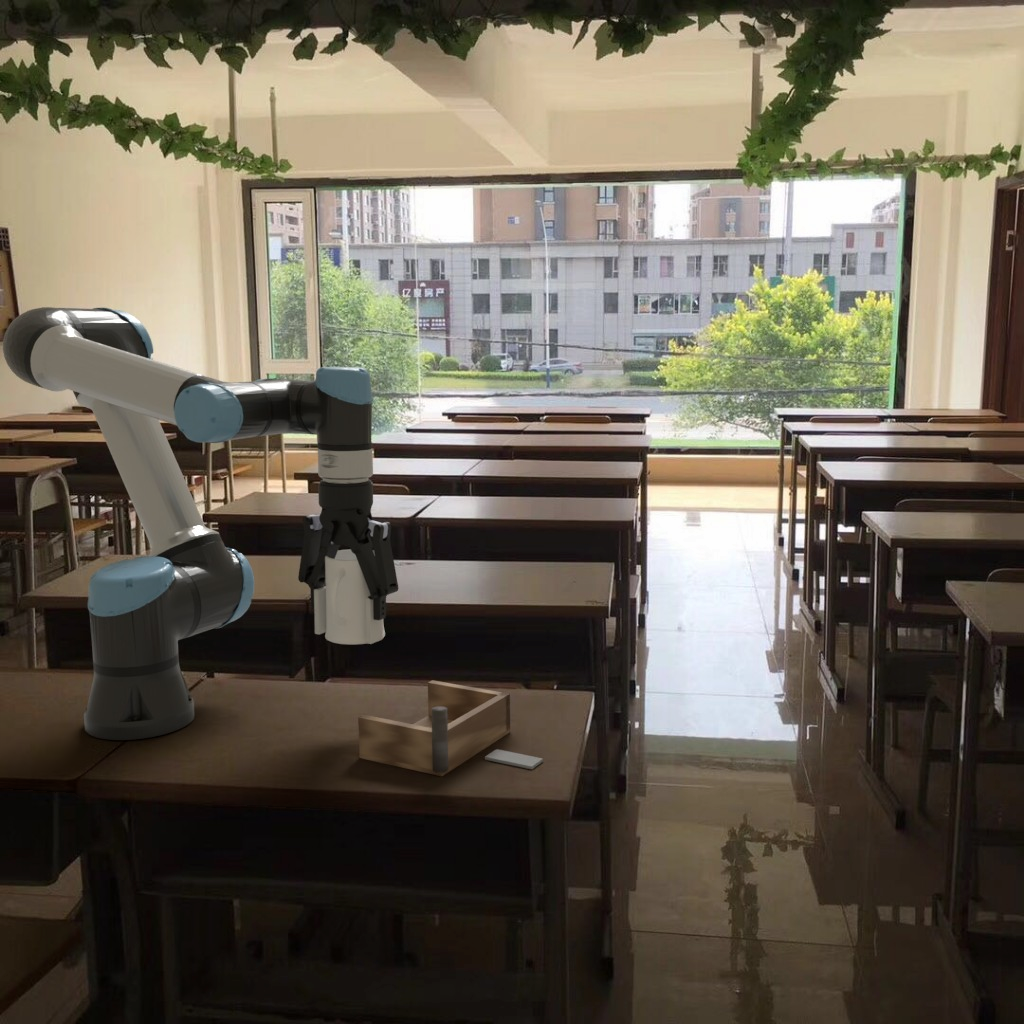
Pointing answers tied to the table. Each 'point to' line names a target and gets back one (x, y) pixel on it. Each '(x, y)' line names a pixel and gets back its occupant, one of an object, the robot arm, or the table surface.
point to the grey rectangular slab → (514, 759)
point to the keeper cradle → (438, 730)
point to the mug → (346, 599)
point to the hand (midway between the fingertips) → (348, 636)
